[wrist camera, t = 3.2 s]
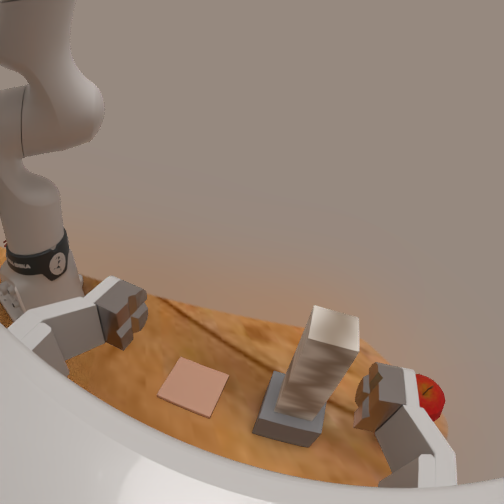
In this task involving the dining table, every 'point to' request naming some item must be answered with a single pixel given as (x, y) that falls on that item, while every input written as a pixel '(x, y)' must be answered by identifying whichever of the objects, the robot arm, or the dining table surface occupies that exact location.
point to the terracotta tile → (193, 387)
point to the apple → (430, 396)
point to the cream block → (318, 363)
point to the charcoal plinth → (285, 419)
